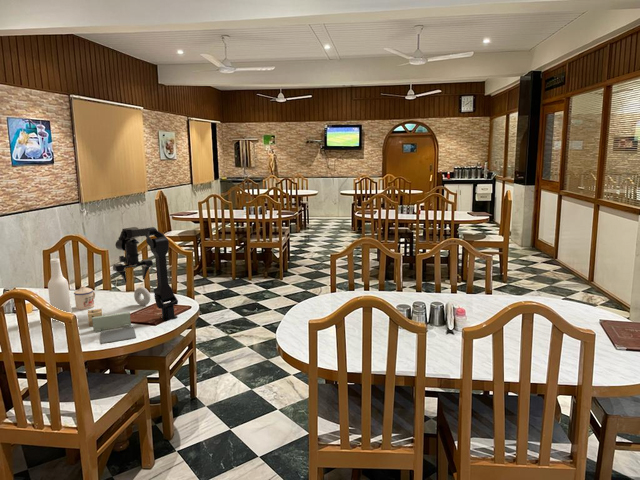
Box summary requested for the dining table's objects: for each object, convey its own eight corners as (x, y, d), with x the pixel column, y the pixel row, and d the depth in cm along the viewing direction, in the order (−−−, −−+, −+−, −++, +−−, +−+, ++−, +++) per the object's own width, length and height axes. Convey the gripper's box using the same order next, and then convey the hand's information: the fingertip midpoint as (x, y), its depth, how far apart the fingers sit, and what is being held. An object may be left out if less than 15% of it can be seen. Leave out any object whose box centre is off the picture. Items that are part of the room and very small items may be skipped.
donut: (152, 305, 253) (151, 287, 251) (148, 307, 250) (146, 289, 248) (138, 303, 257) (136, 285, 255) (133, 305, 254) (131, 287, 252)
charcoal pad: (136, 338, 209) (136, 337, 209) (101, 344, 204) (101, 342, 204) (133, 327, 222) (133, 326, 222) (100, 332, 216) (100, 331, 216)
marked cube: (103, 324, 227) (101, 312, 226) (89, 326, 225) (87, 314, 224) (102, 320, 233) (101, 308, 232) (89, 322, 230) (87, 310, 229)
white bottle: (53, 322, 231) (45, 262, 225) (51, 317, 238) (43, 258, 232) (73, 318, 236) (66, 259, 230) (70, 313, 243) (63, 256, 237)
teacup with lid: (85, 310, 247) (83, 289, 244) (71, 309, 249) (69, 288, 247) (102, 303, 258) (100, 282, 256) (88, 302, 260) (86, 281, 258)
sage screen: (131, 326, 223) (130, 314, 222) (93, 332, 217) (92, 320, 216) (130, 322, 229) (129, 310, 228) (93, 328, 222) (92, 315, 221)
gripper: (143, 246, 257) (146, 275, 259) (107, 252, 245) (111, 281, 248) (151, 249, 248) (154, 278, 251) (114, 255, 236) (118, 286, 239)
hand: (134, 281), depth 248 cm, fingers open, 9 cm apart
